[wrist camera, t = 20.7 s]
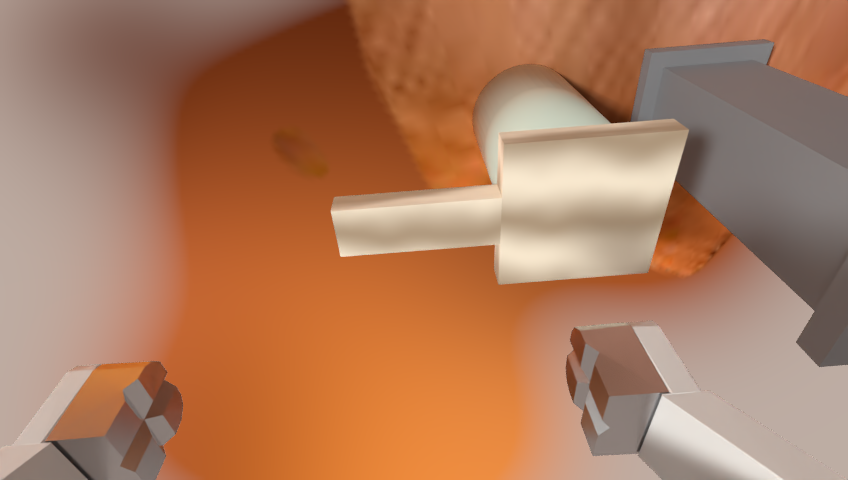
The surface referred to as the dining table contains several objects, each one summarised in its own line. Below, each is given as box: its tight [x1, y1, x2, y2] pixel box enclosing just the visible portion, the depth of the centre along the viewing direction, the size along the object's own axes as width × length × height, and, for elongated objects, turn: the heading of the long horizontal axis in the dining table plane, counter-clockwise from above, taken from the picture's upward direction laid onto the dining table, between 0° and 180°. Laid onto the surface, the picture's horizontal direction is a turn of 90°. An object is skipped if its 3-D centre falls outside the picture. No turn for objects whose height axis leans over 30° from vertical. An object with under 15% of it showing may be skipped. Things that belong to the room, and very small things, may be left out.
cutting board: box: [331, 119, 689, 284], centre depth 33 cm, size 12×24×2 cm, turn 94°
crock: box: [472, 64, 611, 185], centre depth 42 cm, size 11×11×18 cm
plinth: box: [631, 39, 848, 367], centre depth 37 cm, size 12×12×30 cm
